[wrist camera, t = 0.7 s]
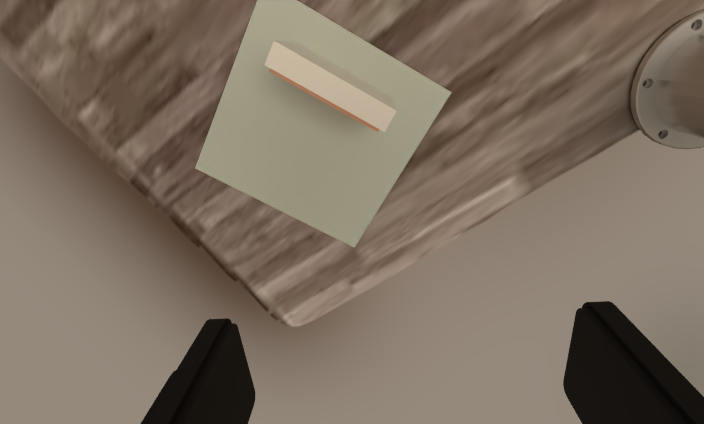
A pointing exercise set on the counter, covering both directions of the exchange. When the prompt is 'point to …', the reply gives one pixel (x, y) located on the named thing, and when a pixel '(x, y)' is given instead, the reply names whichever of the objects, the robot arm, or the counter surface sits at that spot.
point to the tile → (331, 84)
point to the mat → (314, 125)
